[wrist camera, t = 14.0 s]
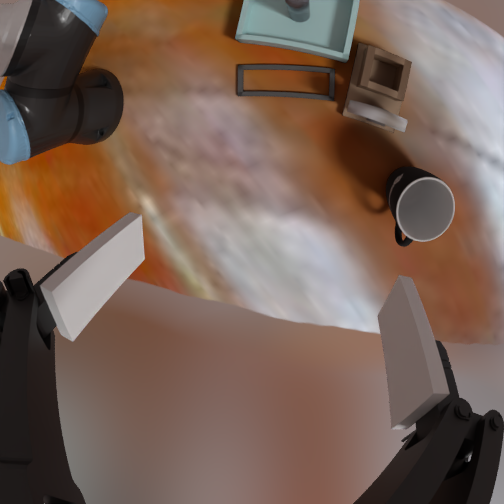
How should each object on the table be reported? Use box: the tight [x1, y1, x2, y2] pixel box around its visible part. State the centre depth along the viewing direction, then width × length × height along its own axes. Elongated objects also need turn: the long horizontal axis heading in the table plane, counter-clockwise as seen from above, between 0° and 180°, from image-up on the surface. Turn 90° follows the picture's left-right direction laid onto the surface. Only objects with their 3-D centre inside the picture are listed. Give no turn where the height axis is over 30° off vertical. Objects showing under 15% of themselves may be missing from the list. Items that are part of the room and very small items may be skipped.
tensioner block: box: [342, 43, 412, 133], centre depth 27 cm, size 8×12×9 cm, turn 170°
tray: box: [235, 0, 360, 63], centre depth 26 cm, size 16×13×3 cm
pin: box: [285, 0, 310, 22], centre depth 22 cm, size 3×3×12 cm
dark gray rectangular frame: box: [238, 65, 335, 101], centre depth 33 cm, size 14×5×1 cm, turn 90°
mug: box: [386, 167, 455, 247], centre depth 34 cm, size 12×9×10 cm
